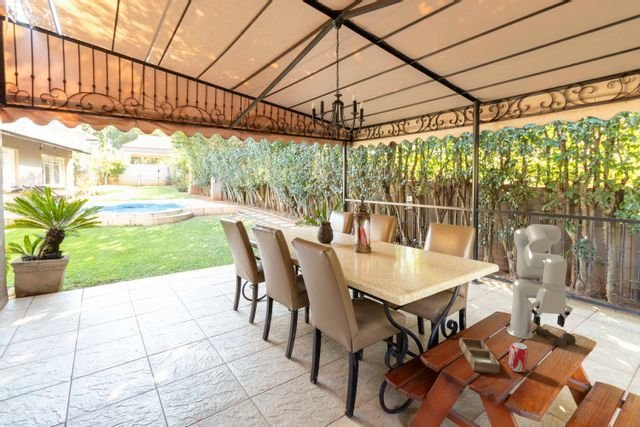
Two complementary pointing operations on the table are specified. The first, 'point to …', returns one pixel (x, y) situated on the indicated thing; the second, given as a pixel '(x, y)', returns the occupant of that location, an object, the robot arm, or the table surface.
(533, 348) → the table surface
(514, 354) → the soda can
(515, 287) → the robot arm
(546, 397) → the table surface
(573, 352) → the table surface
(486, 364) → the drinks caddy
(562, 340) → the kendama
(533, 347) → the table surface
